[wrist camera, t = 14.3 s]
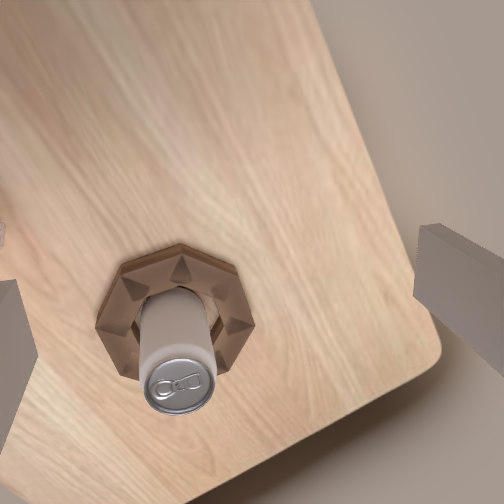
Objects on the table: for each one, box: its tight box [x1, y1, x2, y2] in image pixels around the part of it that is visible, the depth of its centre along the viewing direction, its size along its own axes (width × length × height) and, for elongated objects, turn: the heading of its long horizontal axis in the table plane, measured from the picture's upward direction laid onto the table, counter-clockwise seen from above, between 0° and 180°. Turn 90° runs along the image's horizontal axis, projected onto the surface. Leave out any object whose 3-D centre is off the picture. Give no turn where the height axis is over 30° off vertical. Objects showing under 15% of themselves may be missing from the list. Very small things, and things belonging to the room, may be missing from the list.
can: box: [139, 287, 217, 416], centre depth 42 cm, size 6×6×12 cm
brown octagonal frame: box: [95, 244, 255, 381], centre depth 46 cm, size 14×14×2 cm
